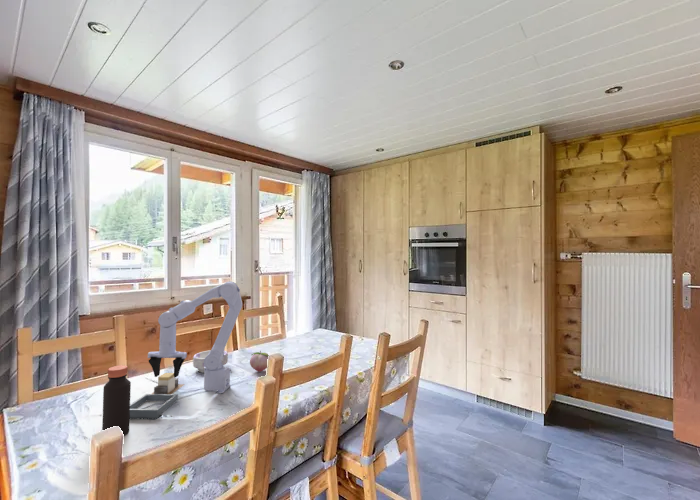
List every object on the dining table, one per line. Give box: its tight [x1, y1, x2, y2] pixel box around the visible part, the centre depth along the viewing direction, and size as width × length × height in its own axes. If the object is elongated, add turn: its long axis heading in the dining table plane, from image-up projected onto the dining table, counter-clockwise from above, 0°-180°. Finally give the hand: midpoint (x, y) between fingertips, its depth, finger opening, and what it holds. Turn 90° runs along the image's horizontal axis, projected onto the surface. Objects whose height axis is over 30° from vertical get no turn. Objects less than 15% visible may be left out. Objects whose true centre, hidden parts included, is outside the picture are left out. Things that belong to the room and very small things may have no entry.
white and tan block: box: [157, 372, 176, 393], centre depth 131 cm, size 4×5×6 cm
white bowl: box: [192, 349, 229, 374], centre depth 158 cm, size 15×15×8 cm
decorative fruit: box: [249, 350, 270, 373], centre depth 157 cm, size 9×8×10 cm
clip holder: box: [151, 377, 185, 394], centre depth 131 cm, size 8×13×4 cm, turn 0°
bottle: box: [101, 364, 132, 437], centre depth 100 cm, size 7×7×20 cm
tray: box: [130, 393, 179, 420], centre depth 116 cm, size 12×13×3 cm
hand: (166, 376), depth 131 cm, fingers open, 7 cm apart
